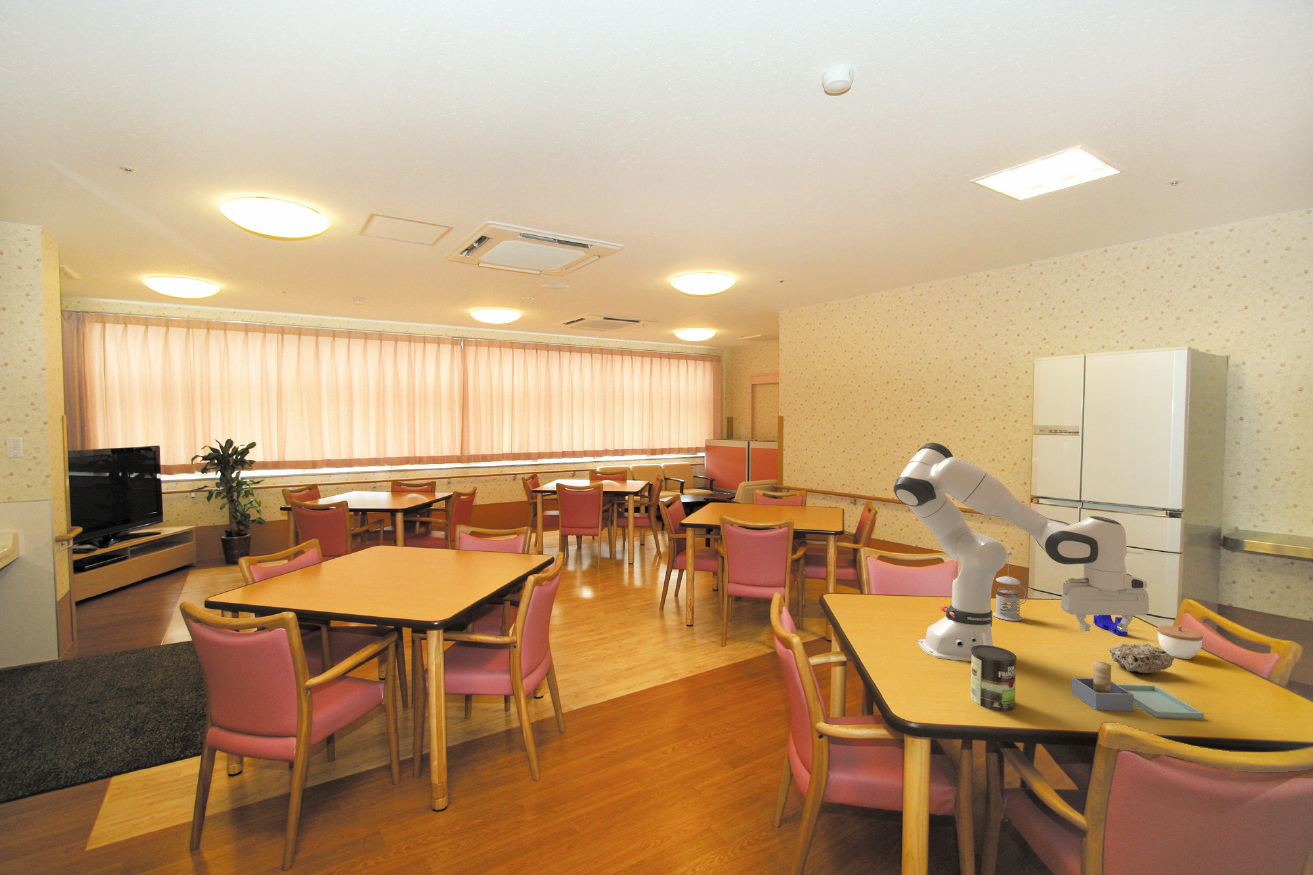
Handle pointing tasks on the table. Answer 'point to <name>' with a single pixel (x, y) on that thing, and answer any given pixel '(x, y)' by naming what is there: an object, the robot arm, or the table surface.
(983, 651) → the coffee can
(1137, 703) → the tray
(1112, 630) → the cable clip
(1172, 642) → the lidded jar
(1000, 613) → the french press
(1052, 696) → the table surface
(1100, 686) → the dowel
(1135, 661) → the pumice stone
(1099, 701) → the grey open box
